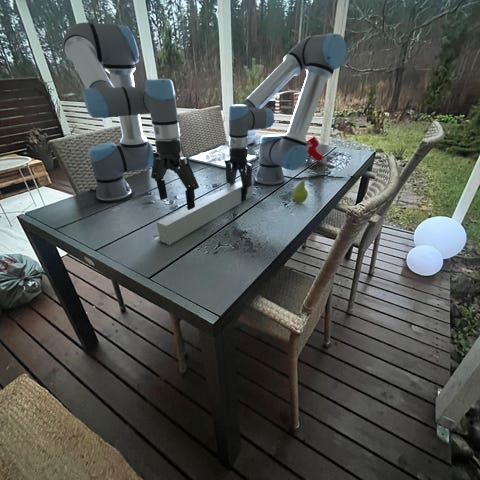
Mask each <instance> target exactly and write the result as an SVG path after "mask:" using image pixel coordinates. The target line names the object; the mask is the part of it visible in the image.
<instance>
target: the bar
mask: <svg viewBox="0 0 480 480" xmlns="http://www.w3.org/2000/svg"><path fill="white" fill-rule="evenodd" d="M242 187H243V186H242V181H241V180H238V181H236V183H234V184H233V185H231V186H230V185H229V186H226V187H224V188H223V189H220V190H219V191H216V192H215V193H212V194H210V195H208V196H206V197H205V198H202V199H200V200H198V201H195V202H194V203H195V207H194V208H192V209H190V210H188V209H187V206H186V207H184V208H182V209H180V210H178V211H176V212H174V213H172V214H169V215H168V216H165V217H164V218H162V219H160V220H158V221H156V227H157V231H158V235H159V236H158V237H159V241H160V242H162V243H164V244H166V245H168V246H171V245H172V244H174V243H175V242H177V241H179V240H180V239H183V237H185V236H188V235H189V234H191V233H192V232H194V231H196V230H197V229H199V228H201V227H203V226H205V225H207V223H210V221H213V220H214V219H216V218H218V217H220V216H221V215H223V214H225V213H226V212H228V211H230V210H231V209H233V208H235V207H236V206H238V205H240V204H241V203H243V202H241V188H242ZM253 196H254V180H253V179H252V186H250V187H249V188H248V193H247V194H246V200H245V201H247V200H248V199H250V198H252V197H253Z"/></svg>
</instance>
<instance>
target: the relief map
mask: <svg viewBox="0 0 480 480" xmlns="http://www.w3.org/2000/svg"><path fill="white" fill-rule="evenodd" d="M229 148H230V147H229V146H228V145H223V144H221V145H220V146H218V147H215V148H214V149H210V150H208V151H205V152H200V153H198V154H196V155H193V156H190V157H188V159H189V161H193V162H198V163H203V164H207V165H211V166H215V167H219V168H223V169H226V165H225V162H224V161H225V160H228V159H230V156H229ZM257 159H258V157H257V156H256V155H253V154H252V155H251V154H247V161H248V163H250V162H252V161H255V160H257ZM231 168H232V164H231Z"/></svg>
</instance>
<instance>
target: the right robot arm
mask: <svg viewBox="0 0 480 480" xmlns="http://www.w3.org/2000/svg"><path fill="white" fill-rule="evenodd" d="M346 56H347V45H346V41H345V39H344V37H343V36H342V34H340V33H330V32H329V33H327V34H319V35H318V34H317V35H309V36H307V37H304V39H302V40H301V41H299V42H298V43H297V44H296V45H294V47H292V48H291V50H289V51H288V53H286V54H285V55H284V57H283V61H282V62H280V64H279V65H278V66H277V67H276V68H275V69H274V70H273V71H272V72H271V73H270V74H269V75H268V76H267V77H266V78H265V79H264V80H263V81H262V82H261V83H260V84H259V85H258V87H257V88H255V90H253V91H252V92H251V93H250V95H248V96H247V97H246V98H245V100H244V101H242V103H238V104H231V105H229V107H228V112H227V121H228V148H229V156H230V159H228V160H225V161H224V162H225V165H226V168H225V182H226V183H228V184H229V186H231V185H233V184H235V183H237V181H236V179H237V173H239V175H240V181H242V186H243V187H242V188H241V202H242V203H244V202H246V201H247V200H246V194H247V193H248V188H249V187H250V186H252V180H253V168H254V164H253V163H250V162H248V161H247V155H248V149H249V148H248V145H249V144H248V130H255V131H256V130H265V129H269V128H271V127H272V126H273V125H274V124H275V123H274V122H275V113H274V111H273V110H272V109H271V108H270V107H268V108H267V107H265V106H266V105H267V104H268V103H269V102H270V101H271V100H272V99H273V98H274V97H275V96H276V95H277V94H278V93H279V92H280V91H281V90H282V88H283V87H285V85H287V83H289V81H291V80H292V79H293V78H294V76H299V75H300V74H301V73H302V72H303V71H306V77H305V79H304V83H303V86H302V88H301V91H300V94H299V97H298V98H297V99H298V100H297V102H296V105H295V108H294V111H293V114H292V117H291V120H290V123H289V126H288V129H287V132H284V134H279V133H278V134H266V135H262V136H260V139H259V143H258V145H259V153H258V157H259V158H258V167H257V171H256V174H255V178H254V181H255V183H258V184H259V185H262V186H263V185H264V186H279V185H281V184H283V183H284V181H285V178H286V179H292V180H305V179H306V178H307V177H308V176H301V177H293V176H289V175H284V172H283V171H284V170H283V169H286V170H289V171H296V170H299V169H300V168H302V167H303V166H304V165H305V163H306V161H307V159H308V158H307V156H308V153H307V148H306V144H307V139H306V137H307V134H308V131H309V129H310V126H311V123H312V121H313V118H314V115H315V113H316V110H317V107H318V104H319V102H320V100H321V98H322V97H321V96H322V93H323V91H324V88H325V86H326V84H327V80H329V79H331V78H332V77H333V74H334V73H335V70H337V69H339V68H340V67H342V65H343V64H344V62H345V60H346ZM231 164H232V168H231ZM315 175H316V176H314V175H310V176H311V177H309V178H307V179H311V178H318V177H327V178H332V179H344V178H345V177H342V176H336V177H334V176H335V175H330V176H328V175H329V174H315ZM349 178H351V179H352V178H354V177H353V175H352V176H349Z"/></svg>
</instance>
